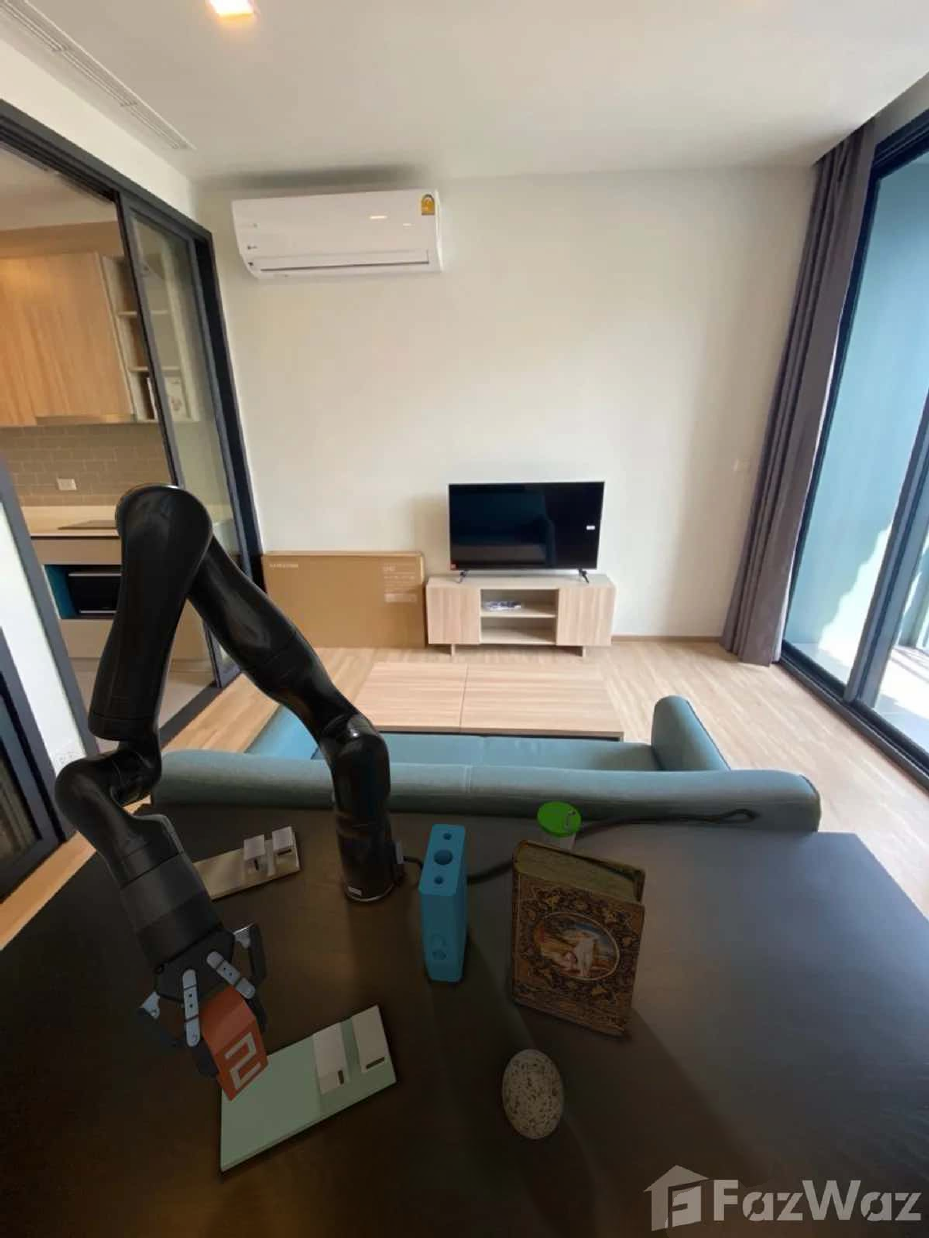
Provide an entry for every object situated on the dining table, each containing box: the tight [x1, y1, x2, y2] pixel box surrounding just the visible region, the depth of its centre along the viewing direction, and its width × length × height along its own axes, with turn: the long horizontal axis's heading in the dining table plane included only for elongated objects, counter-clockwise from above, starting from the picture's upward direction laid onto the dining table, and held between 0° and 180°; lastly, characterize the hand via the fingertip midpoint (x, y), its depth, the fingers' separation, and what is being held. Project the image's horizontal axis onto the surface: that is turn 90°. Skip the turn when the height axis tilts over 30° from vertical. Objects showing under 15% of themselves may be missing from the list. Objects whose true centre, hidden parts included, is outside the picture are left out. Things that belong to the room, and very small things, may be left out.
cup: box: [536, 800, 582, 850], centre depth 91 cm, size 8×8×15 cm
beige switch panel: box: [192, 825, 301, 901], centre depth 92 cm, size 20×9×4 cm, turn 113°
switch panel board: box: [220, 1004, 397, 1172], centre depth 62 cm, size 20×9×4 cm, turn 113°
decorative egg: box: [501, 1048, 565, 1140], centre depth 58 cm, size 7×7×10 cm
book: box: [508, 839, 646, 1038], centre depth 66 cm, size 16×6×25 cm, turn 71°
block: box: [418, 823, 468, 983], centre depth 74 cm, size 12×5×20 cm, turn 173°
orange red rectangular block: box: [199, 986, 268, 1102], centre depth 55 cm, size 4×6×8 cm
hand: (238, 1051), depth 54 cm, fingers closed on orange red rectangular block, 4 cm apart
